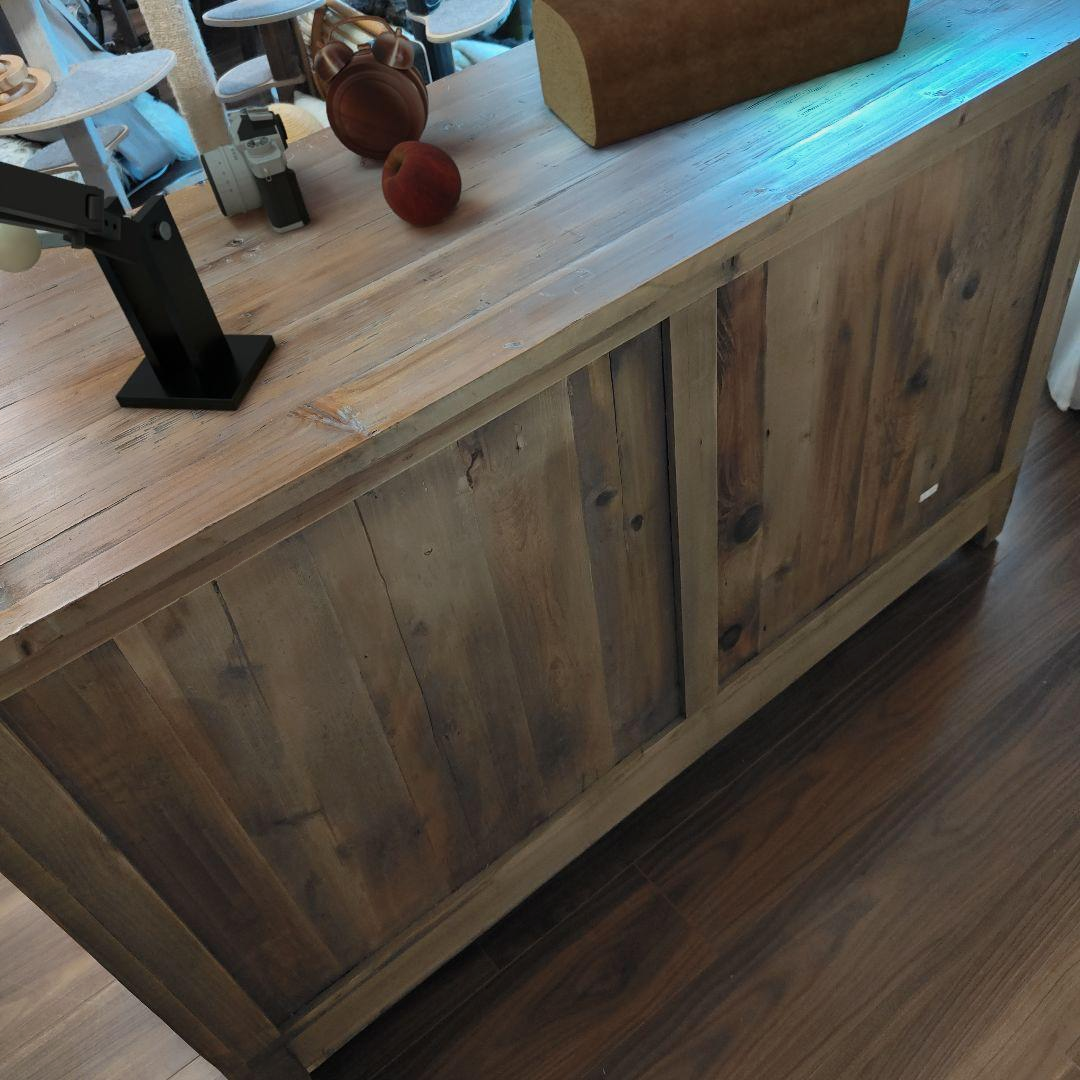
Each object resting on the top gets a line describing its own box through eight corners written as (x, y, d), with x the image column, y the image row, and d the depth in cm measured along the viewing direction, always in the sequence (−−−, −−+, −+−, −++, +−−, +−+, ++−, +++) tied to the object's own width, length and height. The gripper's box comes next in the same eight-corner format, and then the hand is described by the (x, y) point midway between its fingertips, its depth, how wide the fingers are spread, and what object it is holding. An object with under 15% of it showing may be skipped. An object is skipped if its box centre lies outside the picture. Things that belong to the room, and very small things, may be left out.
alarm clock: (441, 143, 113) (410, 0, 102) (436, 163, 110) (404, 18, 99) (346, 154, 114) (307, 14, 103) (339, 175, 111) (297, 32, 100)
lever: (20, 275, 64) (8, 216, 63) (-27, 275, 65) (-40, 217, 64) (166, 253, 79) (159, 205, 78) (126, 254, 80) (118, 206, 79)
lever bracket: (236, 411, 84) (159, 241, 72) (120, 407, 86) (28, 242, 75) (276, 345, 89) (210, 178, 78) (167, 344, 92) (88, 182, 81)
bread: (538, 106, 116) (521, -20, 106) (830, 13, 123) (839, -113, 113) (594, 157, 106) (581, 23, 96) (910, 53, 112) (927, -82, 103)
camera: (212, 190, 112) (176, 101, 105) (289, 165, 114) (259, 76, 107) (237, 251, 102) (200, 157, 95) (321, 224, 104) (291, 129, 96)
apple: (387, 212, 104) (367, 136, 98) (460, 193, 104) (444, 117, 98) (397, 246, 98) (377, 169, 93) (474, 227, 99) (459, 149, 93)
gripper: (-451, 218, 52) (-97, 299, 73) (-51, 209, 46) (209, 300, 67) (-451, 69, 51) (-96, 193, 72) (-47, 41, 46) (212, 185, 66)
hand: (51, 245), depth 70 cm, fingers open, 12 cm apart
